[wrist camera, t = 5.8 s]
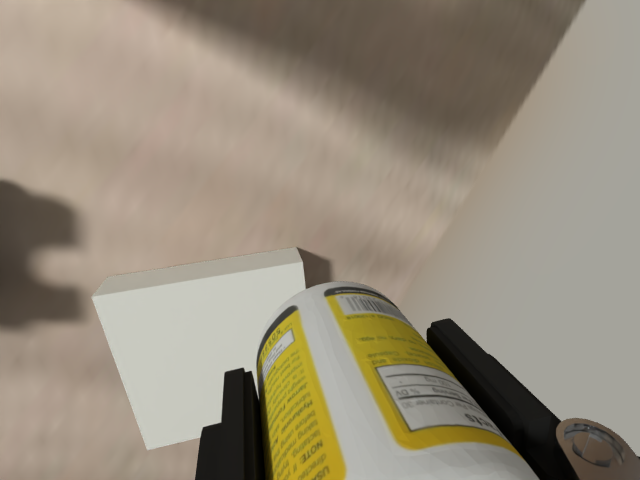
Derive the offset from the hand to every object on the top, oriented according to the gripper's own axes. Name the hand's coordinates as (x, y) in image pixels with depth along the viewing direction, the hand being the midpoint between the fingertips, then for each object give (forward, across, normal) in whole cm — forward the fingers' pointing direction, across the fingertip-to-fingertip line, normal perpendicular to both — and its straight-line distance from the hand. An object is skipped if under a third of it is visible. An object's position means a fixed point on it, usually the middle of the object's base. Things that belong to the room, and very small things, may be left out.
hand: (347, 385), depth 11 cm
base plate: (+18, +6, +9) cm, 21 cm away
